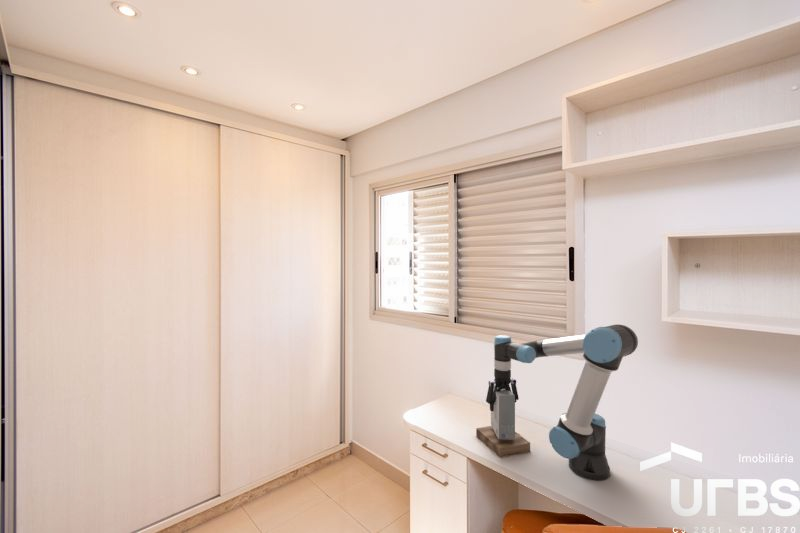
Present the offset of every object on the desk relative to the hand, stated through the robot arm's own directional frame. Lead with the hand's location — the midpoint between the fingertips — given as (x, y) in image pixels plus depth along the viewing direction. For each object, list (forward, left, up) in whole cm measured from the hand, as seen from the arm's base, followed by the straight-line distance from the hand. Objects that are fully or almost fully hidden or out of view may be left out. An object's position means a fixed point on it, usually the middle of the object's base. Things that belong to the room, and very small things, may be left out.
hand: (502, 416), depth 167 cm
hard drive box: (0, 0, -8) cm, 8 cm away
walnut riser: (0, 0, -13) cm, 13 cm away
